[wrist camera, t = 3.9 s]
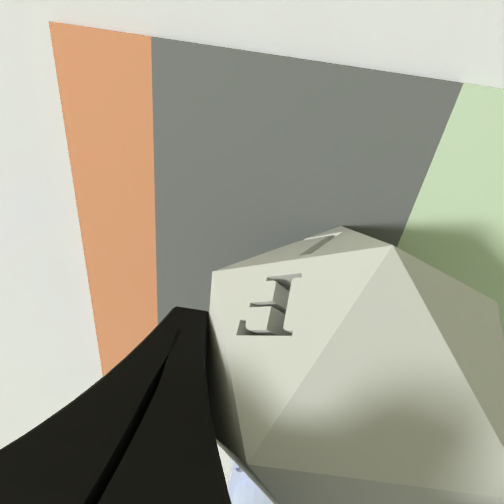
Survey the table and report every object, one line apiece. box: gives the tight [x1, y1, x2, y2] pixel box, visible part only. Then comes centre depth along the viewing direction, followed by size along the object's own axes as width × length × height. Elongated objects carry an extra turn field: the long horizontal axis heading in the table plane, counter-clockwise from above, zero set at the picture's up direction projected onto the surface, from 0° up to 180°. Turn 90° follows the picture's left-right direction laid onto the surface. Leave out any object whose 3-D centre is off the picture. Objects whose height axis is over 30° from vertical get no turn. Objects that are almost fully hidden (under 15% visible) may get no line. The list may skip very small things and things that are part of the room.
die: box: [206, 226, 504, 504], centre depth 10 cm, size 8×9×10 cm
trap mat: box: [49, 21, 504, 376], centre depth 13 cm, size 16×25×1 cm, turn 83°
